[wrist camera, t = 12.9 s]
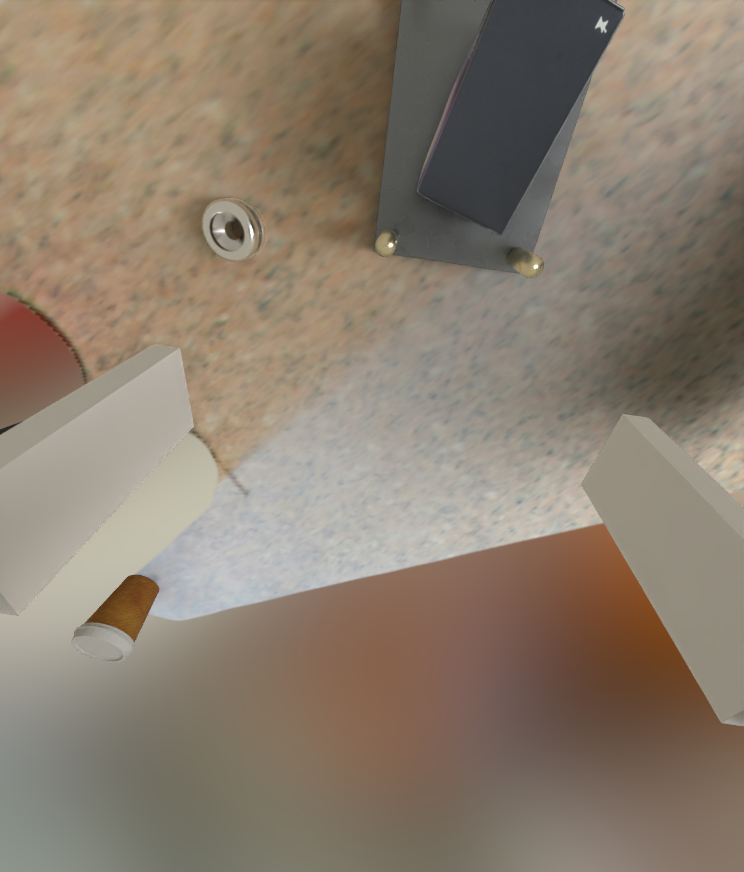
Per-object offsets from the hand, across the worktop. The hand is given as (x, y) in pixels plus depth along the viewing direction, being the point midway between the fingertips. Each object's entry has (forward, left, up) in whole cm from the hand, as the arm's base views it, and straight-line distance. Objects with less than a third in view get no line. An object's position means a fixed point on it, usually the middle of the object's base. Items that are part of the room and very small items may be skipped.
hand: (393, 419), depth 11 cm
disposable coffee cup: (+40, +62, -29) cm, 79 cm away
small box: (-4, -10, -27) cm, 29 cm away
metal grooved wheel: (+16, -1, -29) cm, 33 cm away
